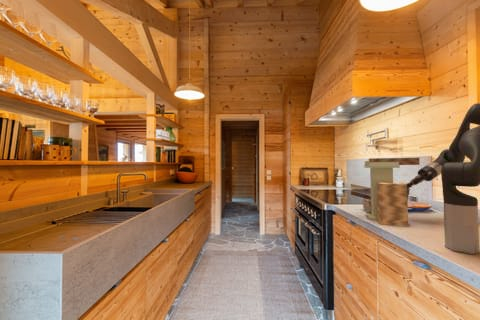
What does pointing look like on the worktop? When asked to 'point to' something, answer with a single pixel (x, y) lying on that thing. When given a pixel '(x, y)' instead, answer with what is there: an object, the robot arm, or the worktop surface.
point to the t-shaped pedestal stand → (379, 181)
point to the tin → (367, 205)
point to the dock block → (392, 204)
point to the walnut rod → (398, 160)
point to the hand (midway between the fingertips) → (409, 185)
